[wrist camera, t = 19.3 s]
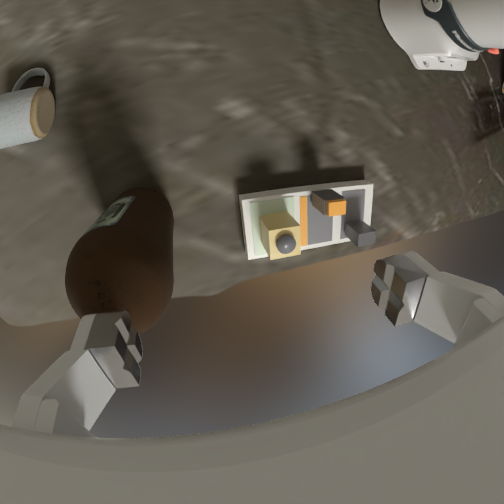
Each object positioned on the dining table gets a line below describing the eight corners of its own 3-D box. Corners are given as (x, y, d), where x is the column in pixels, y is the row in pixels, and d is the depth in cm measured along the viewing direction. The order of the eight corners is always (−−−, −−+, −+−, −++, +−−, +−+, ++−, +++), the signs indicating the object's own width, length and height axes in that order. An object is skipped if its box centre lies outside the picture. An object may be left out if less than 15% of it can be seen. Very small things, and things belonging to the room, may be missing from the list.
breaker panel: (364, 179, 41) (373, 184, 39) (361, 231, 46) (369, 237, 43) (238, 194, 39) (241, 200, 36) (245, 251, 43) (248, 260, 41)
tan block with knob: (287, 211, 38) (302, 227, 33) (288, 237, 40) (302, 256, 35) (258, 215, 38) (269, 232, 33) (261, 242, 40) (271, 262, 35)
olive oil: (193, 224, 39) (204, 367, 18) (140, 266, 41) (113, 413, 19) (144, 167, 34) (75, 262, 12) (92, 216, 35) (9, 342, 14)
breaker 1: (331, 189, 38) (348, 199, 33) (331, 202, 39) (347, 214, 34) (311, 191, 37) (326, 202, 33) (311, 205, 38) (326, 217, 34)
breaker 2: (362, 220, 41) (376, 231, 38) (361, 232, 42) (374, 243, 39) (345, 223, 41) (358, 234, 37) (344, 235, 42) (357, 246, 38)
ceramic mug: (58, 136, 29) (31, 143, 22) (14, 144, 27) (-15, 153, 20) (62, 63, 24) (36, 55, 18) (17, 75, 22) (-12, 72, 16)
